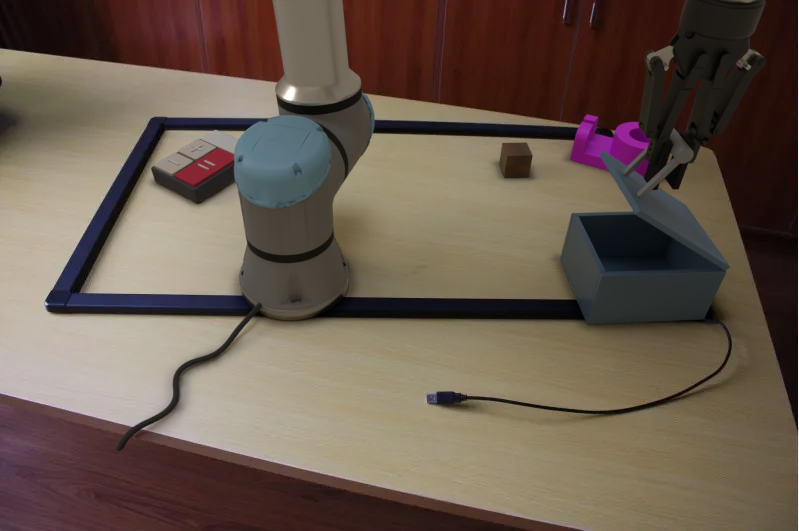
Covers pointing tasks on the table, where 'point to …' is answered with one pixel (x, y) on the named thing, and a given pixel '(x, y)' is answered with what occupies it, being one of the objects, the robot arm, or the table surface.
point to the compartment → (635, 271)
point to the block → (515, 159)
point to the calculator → (198, 167)
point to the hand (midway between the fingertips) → (661, 183)
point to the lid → (664, 201)
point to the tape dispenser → (609, 144)
